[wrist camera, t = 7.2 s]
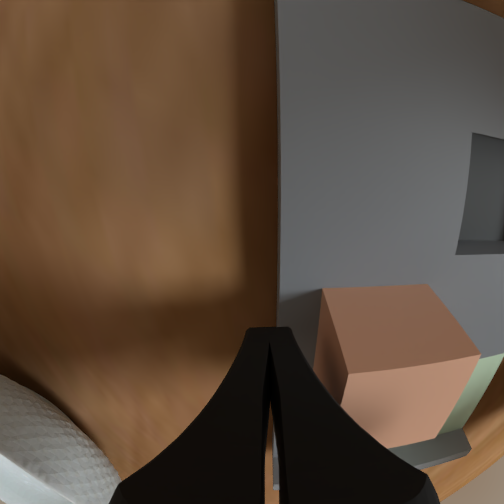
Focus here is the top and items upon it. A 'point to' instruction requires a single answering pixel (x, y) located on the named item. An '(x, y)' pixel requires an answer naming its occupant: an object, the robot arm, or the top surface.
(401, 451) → the board
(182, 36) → the top surface
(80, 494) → the cereal bowl
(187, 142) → the top surface
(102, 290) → the top surface
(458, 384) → the block
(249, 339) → the robot arm
